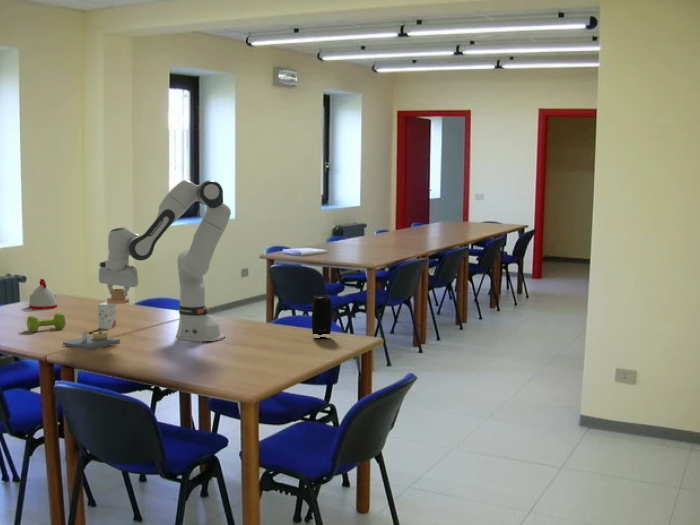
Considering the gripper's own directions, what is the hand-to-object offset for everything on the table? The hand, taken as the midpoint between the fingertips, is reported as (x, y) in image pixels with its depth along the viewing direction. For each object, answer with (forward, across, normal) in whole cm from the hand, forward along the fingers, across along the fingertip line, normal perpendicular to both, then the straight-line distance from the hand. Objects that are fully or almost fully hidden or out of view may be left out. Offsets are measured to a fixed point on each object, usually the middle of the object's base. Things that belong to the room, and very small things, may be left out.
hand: (118, 295), depth 364 cm
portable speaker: (+19, -74, -54) cm, 93 cm away
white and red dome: (+20, +83, -32) cm, 91 cm away
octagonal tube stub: (+3, 0, 0) cm, 3 cm away
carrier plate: (+19, 0, +16) cm, 25 cm away
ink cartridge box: (+20, +20, -14) cm, 31 cm away
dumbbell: (+20, +38, +6) cm, 43 cm away
